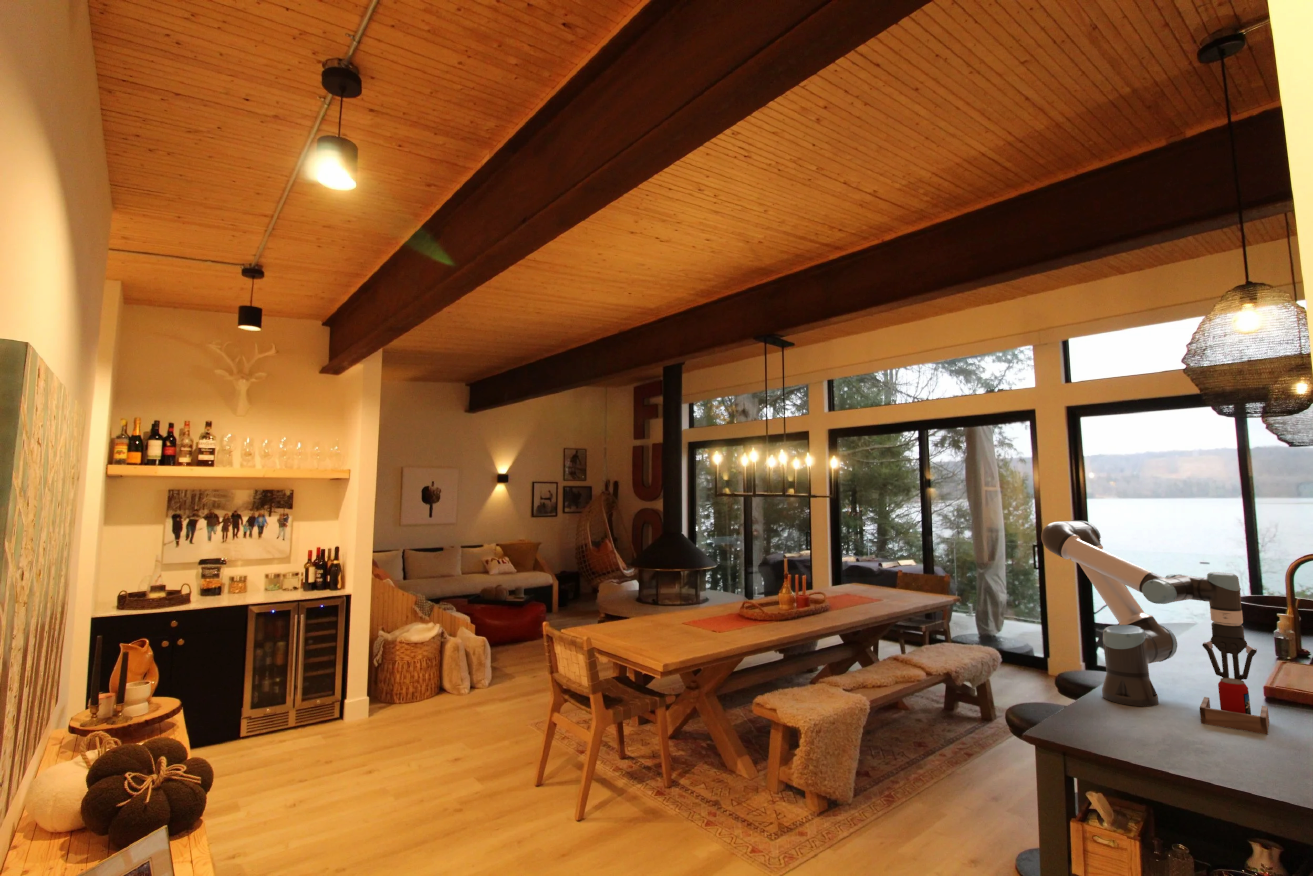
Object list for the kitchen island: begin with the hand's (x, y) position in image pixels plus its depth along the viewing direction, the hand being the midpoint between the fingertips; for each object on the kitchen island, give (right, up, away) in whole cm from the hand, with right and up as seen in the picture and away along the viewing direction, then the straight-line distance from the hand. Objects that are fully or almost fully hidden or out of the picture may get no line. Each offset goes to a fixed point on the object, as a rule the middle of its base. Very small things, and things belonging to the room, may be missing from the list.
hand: (1233, 700), depth 199 cm
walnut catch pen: (-7, -3, -8) cm, 11 cm away
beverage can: (-6, -3, -8) cm, 10 cm away
